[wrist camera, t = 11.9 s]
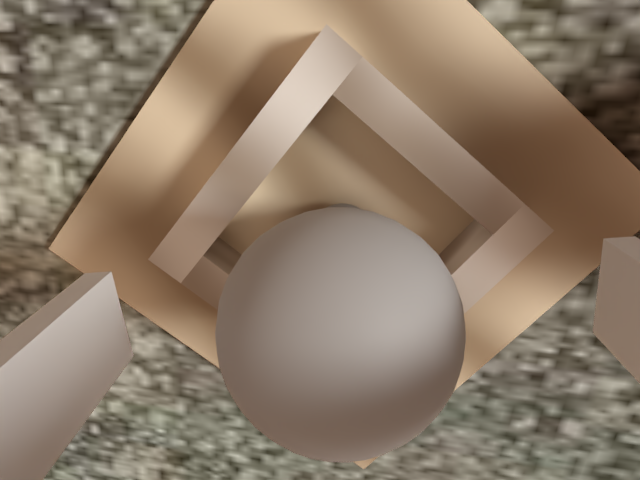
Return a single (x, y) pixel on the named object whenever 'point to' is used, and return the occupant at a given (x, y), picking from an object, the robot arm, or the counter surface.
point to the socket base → (354, 161)
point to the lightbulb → (340, 334)
